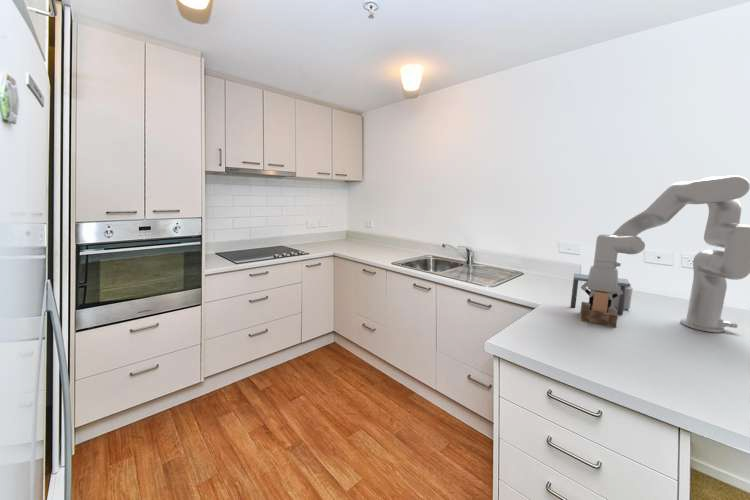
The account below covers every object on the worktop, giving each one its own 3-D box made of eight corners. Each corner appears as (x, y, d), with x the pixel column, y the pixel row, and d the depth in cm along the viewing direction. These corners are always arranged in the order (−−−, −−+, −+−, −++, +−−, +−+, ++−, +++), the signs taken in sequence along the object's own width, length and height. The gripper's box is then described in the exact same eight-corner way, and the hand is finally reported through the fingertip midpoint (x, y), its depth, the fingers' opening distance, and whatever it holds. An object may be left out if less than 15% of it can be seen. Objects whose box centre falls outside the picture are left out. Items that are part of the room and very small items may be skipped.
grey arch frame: (622, 314, 145) (627, 279, 142) (624, 320, 138) (630, 283, 135) (570, 306, 155) (574, 273, 153) (570, 311, 148) (574, 277, 145)
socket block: (612, 317, 141) (614, 306, 141) (616, 327, 130) (617, 315, 130) (580, 312, 148) (581, 301, 147) (580, 321, 137) (582, 310, 136)
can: (629, 311, 148) (633, 286, 146) (609, 308, 153) (612, 283, 151) (629, 307, 154) (632, 283, 152) (610, 304, 159) (613, 280, 157)
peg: (605, 313, 138) (608, 290, 136) (606, 317, 134) (609, 293, 132) (591, 311, 141) (593, 289, 139) (591, 314, 136) (594, 291, 135)
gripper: (629, 265, 132) (623, 307, 135) (580, 260, 141) (575, 300, 144) (631, 268, 126) (625, 313, 129) (580, 263, 135) (575, 305, 138)
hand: (599, 306), depth 137 cm, fingers closed on peg, 4 cm apart
